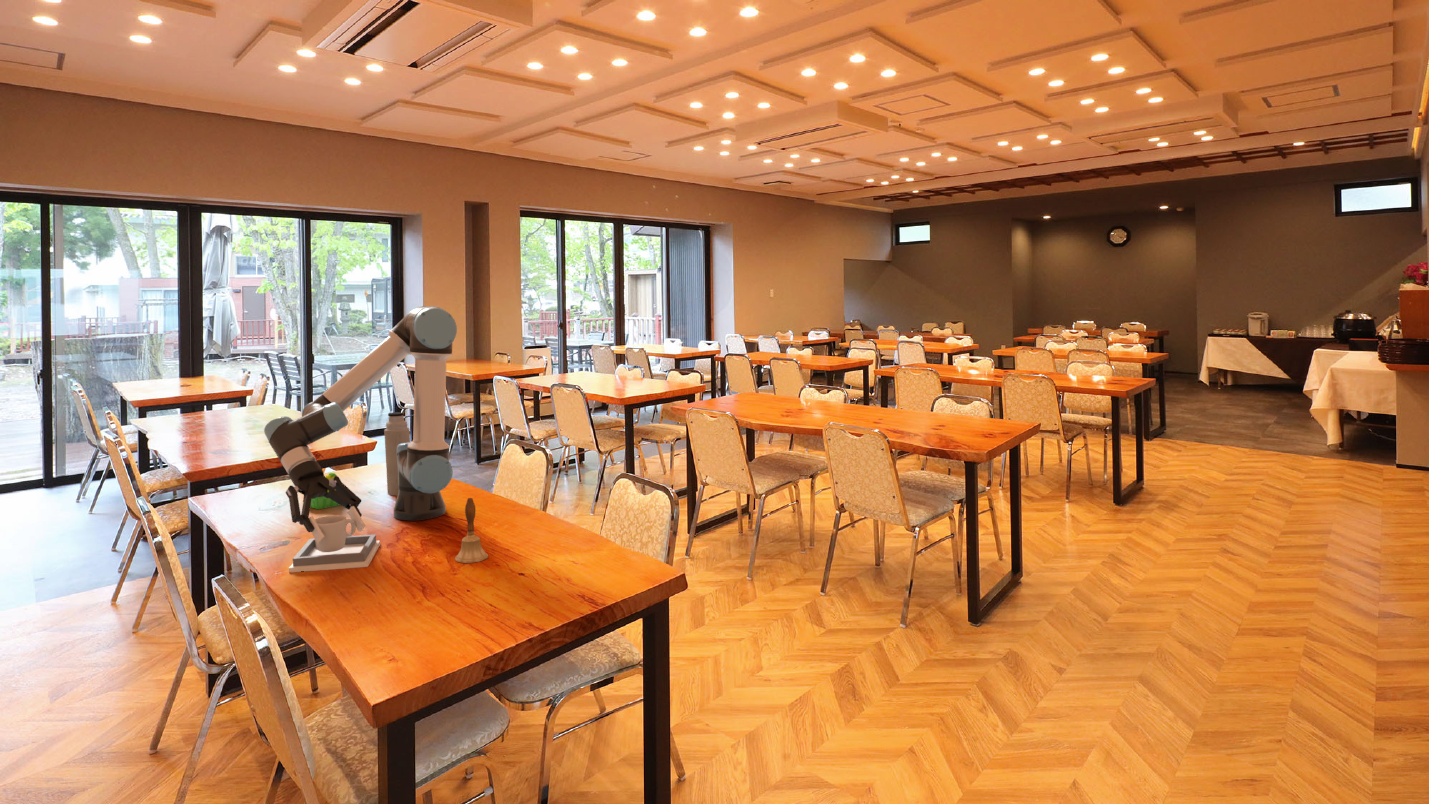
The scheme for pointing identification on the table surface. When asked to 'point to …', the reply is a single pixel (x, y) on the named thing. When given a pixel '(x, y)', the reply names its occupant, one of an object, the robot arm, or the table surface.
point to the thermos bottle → (394, 448)
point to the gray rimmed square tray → (336, 555)
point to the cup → (334, 532)
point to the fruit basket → (324, 498)
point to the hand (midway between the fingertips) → (342, 534)
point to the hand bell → (471, 539)
